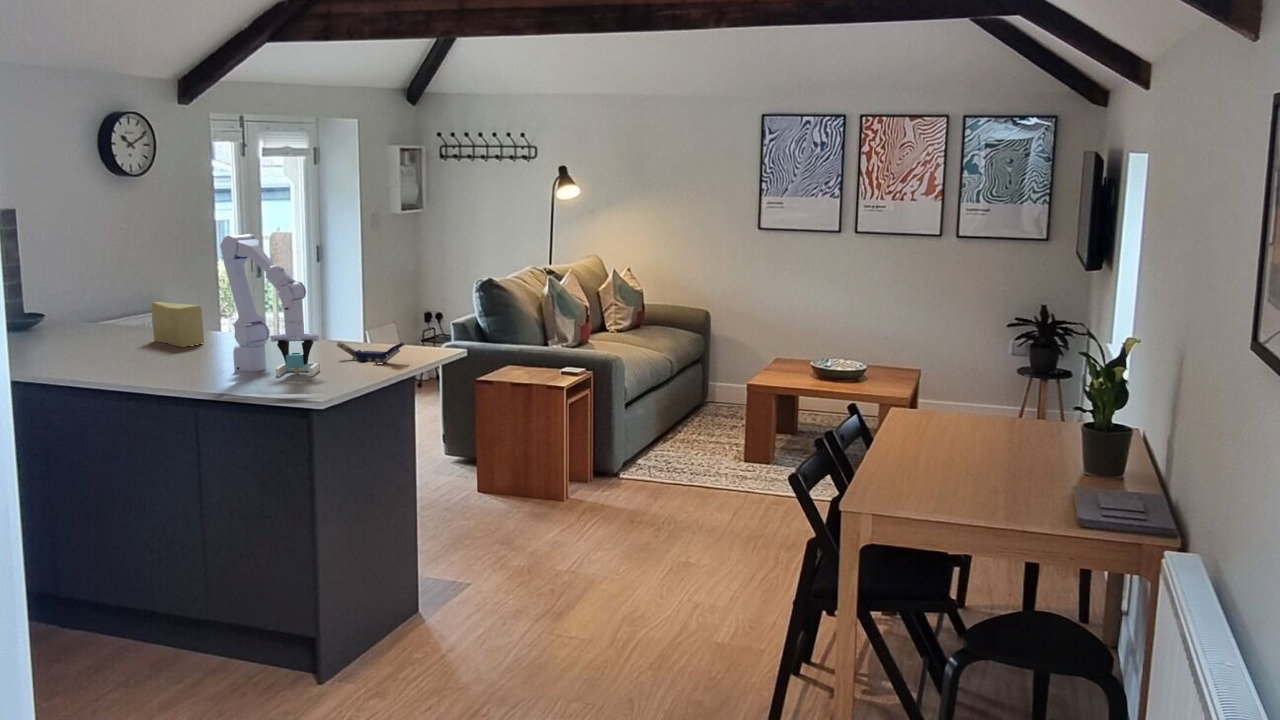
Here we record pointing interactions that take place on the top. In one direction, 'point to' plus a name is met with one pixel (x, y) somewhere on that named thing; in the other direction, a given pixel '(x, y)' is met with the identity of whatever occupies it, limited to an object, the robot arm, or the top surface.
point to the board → (295, 380)
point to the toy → (371, 353)
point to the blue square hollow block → (295, 360)
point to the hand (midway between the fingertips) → (296, 363)
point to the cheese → (177, 324)
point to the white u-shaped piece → (310, 367)
